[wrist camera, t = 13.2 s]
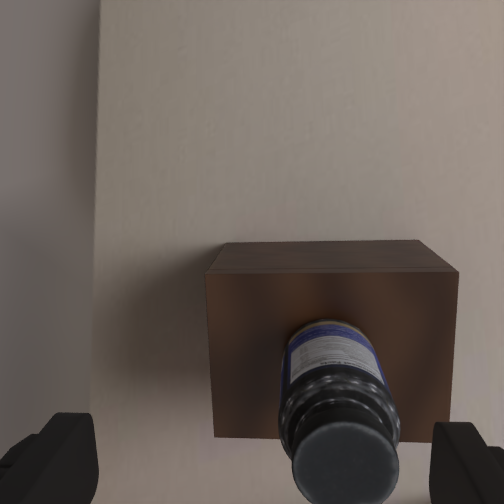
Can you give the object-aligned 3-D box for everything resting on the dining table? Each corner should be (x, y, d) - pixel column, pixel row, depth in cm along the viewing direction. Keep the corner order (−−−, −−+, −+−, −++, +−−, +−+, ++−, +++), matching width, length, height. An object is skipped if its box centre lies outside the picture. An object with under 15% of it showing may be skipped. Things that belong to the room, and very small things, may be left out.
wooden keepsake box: (232, 371, 43) (214, 437, 33) (226, 242, 41) (204, 274, 31) (413, 373, 42) (448, 443, 32) (418, 239, 39) (459, 272, 29)
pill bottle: (352, 413, 32) (380, 550, 21) (268, 381, 32) (254, 501, 21) (390, 335, 31) (441, 439, 20) (302, 301, 31) (306, 387, 20)
